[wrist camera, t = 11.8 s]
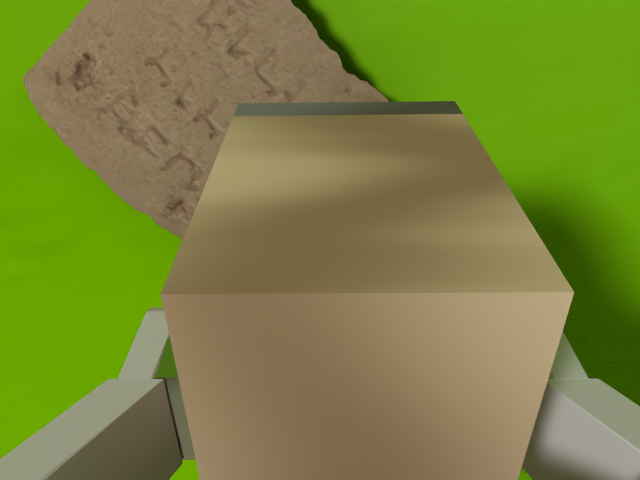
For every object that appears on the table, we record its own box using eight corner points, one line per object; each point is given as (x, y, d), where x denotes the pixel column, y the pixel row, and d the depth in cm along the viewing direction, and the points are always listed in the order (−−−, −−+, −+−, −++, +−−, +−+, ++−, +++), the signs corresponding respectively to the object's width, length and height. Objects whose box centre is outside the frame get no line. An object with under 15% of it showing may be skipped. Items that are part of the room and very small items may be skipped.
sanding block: (454, 101, 9) (573, 292, 5) (418, 398, 13) (464, 653, 8) (238, 103, 9) (160, 293, 5) (266, 399, 13) (236, 653, 8)
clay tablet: (446, 146, 23) (461, 173, 21) (280, 284, 26) (276, 320, 24) (168, -159, 17) (145, -168, 15) (6, 68, 21) (-32, 88, 19)
